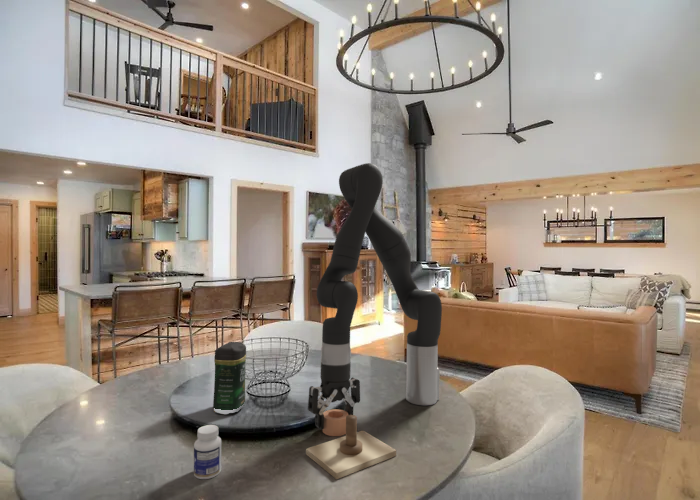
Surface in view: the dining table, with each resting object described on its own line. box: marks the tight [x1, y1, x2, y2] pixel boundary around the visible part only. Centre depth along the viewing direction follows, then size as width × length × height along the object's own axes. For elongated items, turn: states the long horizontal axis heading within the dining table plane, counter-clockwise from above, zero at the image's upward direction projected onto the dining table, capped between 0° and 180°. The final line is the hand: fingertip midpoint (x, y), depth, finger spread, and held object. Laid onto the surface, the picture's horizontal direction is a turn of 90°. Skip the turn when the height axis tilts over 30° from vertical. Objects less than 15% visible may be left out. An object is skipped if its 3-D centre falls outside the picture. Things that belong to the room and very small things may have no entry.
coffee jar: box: [212, 341, 247, 410], centre depth 114 cm, size 10×8×19 cm
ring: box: [322, 408, 348, 437], centre depth 101 cm, size 6×6×4 cm
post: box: [340, 414, 362, 455], centre depth 89 cm, size 5×5×7 cm
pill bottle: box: [193, 424, 223, 480], centre depth 82 cm, size 5×5×9 cm
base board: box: [305, 430, 397, 480], centre depth 89 cm, size 16×12×1 cm
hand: (334, 424), depth 101 cm, fingers open, 8 cm apart
